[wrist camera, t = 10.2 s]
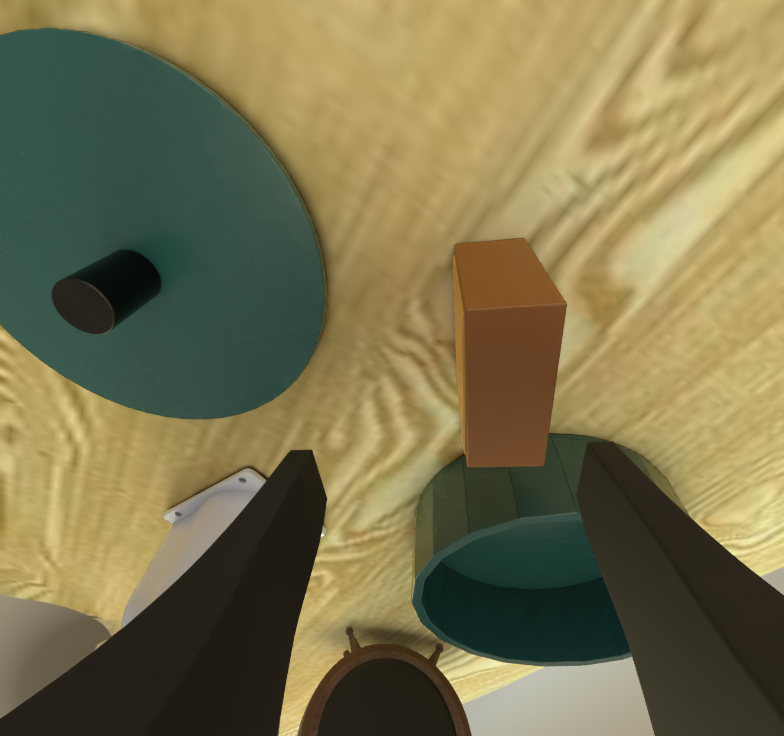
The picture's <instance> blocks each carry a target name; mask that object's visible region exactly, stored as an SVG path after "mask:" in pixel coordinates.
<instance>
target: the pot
mask: <svg viewBox="0 0 784 736" xmlns="http://www.w3.org/2000/svg"><path fill="white" fill-rule="evenodd" d="M587 442H609V441H606V440H601V439H597V438H592V437H586V436H578V435H567V434H549V435H548V442H547V449H546V457H545V464H544V466H519V467H467V464H466V455H464V456H462V457H460V458H459V459H457V460H456V461H454V462H452V463H451V464H449V465H448V466H447V467H445V468H444V469H443V470H442V471H441V472H439V473H438V474H437V475H436V476H435V477H434V478H433V479H432V480H431V482H430V483H429V484H428V485H427V486H426V488H425V490H424V491H423V493H422V494H421V496H420V499H419V501H418V504H417V507H416V513H415V523H414V535H413V564H412V594H411V601H412V604H413V606H414V608H415V610H416V612H417V614H418V617H419V619H420V621H421V622H422V624H423V625H425V626H426V627H427V628H428V629H429V630H430V631H432V632H433V633H434V634H435V635H436V636H437V637H439V638H440V639H441V640H443V641H445V642H447V643H449V644H451V645H453V646H455V647H457V648H460V649H462V650H464V651H466V652H468V653H471V654H474V655H478V656H481V657H485V658H489V659H493V660H497V661H501V662H506V663H515V664H525V665H534V666H580V665H591V664H597V663H603V662H609V661H616V660H623V659H626V658H629V657H632V654H631V650H630V647H629V644H628V641H627V639H626V636H625V633H624V630H623V627H622V625H621V622H620V620H619V617H618V614H617V612H616V609H615V607H614V604H613V602H612V599H611V597H610V594H609V592H608V589H607V587H606V584H605V581H604V579H603V576H602V574H601V571H600V569H599V566H598V564H597V561H596V559H595V556H594V553H593V551H592V548H591V546H590V543H589V540H588V538H587V535H586V532H585V528H584V524H583V521H582V517H581V513H580V509H579V505H578V501H577V497H576V493H577V489H578V484H579V479H580V474H581V470H582V465H583V460H584V455H585V450H586V446H587ZM616 445H617V446H618V447H619V448H620V449H621V450H622V451H623V452H624V453H625V454H626V455H627V456H628V457H629V458H630V459H631V460H632V461H633V462H634V463H635V464H636V465H637V466H638V467H639V468H640V469H641V470H642V471H643V472H644V473H645V474H646V475H647V476H648V477H649V478H650V479H651V480H652V481H653V482H654V483H655V484H656V485H657V486H658V487H659V488H660V489H661V490H662V491H663V492H664V493H665V494H666V495H667V496H668V497H669V498H670V499H671V500H672V501H673V502H674V503H675V504H676V505H678V506H679V507H680V508H681V509H682V510H683V511H684V512H685V513H686V514H687V515H688V516H689V514H688V513H687V511H686V510H685V508H684V506H683V505H682V503H681V501H680V500H679V498H678V497H677V495H676V493H675V492H674V490H673V488H672V487H671V485H670V483H669V482H668V480H667V479H666V478H665V477H664V476H663V475H662V474H661V473H660V471H659V470H658V469H657V468H656V467H655V466H654V465H652V464H651V463H650V462H649V461H648V460H646V459H645V458H643V457H642V456H640V455H639V454H637V453H635V452H633V451H631V450H629V449H627V448H625V447H623V446H620V445H618V444H616ZM689 517H690V516H689Z"/></svg>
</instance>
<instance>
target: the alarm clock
mask: <svg viewBox="0 0 784 736" xmlns="http://www.w3.org/2000/svg"><path fill="white" fill-rule="evenodd" d="M346 634H347V635H349V640H350V646H351V651H352V652H351V653H350V652H349V651H348V650H346V651H345V652H344V654H343V655H344V658H342V659H341V660H340V661H339V662H337V663H336V664H335V665H334V666H333V667H332V668H331V669H330V670H329V672H328V673H327V674H326V675H325V677H324V678H323V679H322V681H321V682H320V684H319V685H318V687H317V688H316V690H315V692H314V694H313V696H312V697H311V699H310V701H309V703H308V705H307V707H306V710H305V712H304V715H303V717H302V720H301V724H300V727H299V731H298V735H297V736H471V732H470V727H469V723H468V720H467V717H466V714H465V711H464V709H463V706H462V704H461V702H460V700H459V698H458V695H457V694H456V692H455V690H454V689H453V687H452V685H451V684H450V682H449V681H448V680H447V678H446V677H445V676H444V675H443V673H442V672H441V671H440V670H439V669H438V668H437V667H436V664H437V661H438V658H439V655H440V652H442V651H443V646H442V645H441V644H437V645H436V651H435V652H434V653H433V654H432V656H431V657H430V658H429V659H426V658H425V657H424V656H422V655H421V654H419V653H417V652H415V651H413V650H411V649H409V648H406V647H403V646H399V645H394V644H375V645H370V646H366V647H363V648H360V646H359V644H358V642H357V641H356V639H355V637H354V635H353V629H352V628H351V627H349V628H347V629H346Z"/></svg>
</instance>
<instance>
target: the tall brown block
mask: <svg viewBox="0 0 784 736" xmlns="http://www.w3.org/2000/svg"><path fill="white" fill-rule="evenodd" d="M454 255H455V256H453V274H454V312H455V350H456V377H457V387H458V397H459V408H460V418H461V428H462V438H463V449H464V454H466V464H467V467H519V466H544V464H545V457H546V449H547V442H548V435H549V428H550V421H551V414H552V407H553V400H554V393H555V385H556V378H557V371H558V364H559V357H560V350H561V343H562V336H563V328H564V321H565V314H566V307H567V303H566V301H565V300H564V298H563V297H562V295H561V294H560V292H559V290H558V289H557V287H556V286H555V284H554V283H553V281H552V280H551V278H550V277H549V275H548V273H547V272H546V270H545V269H544V267H543V266H542V264H541V263H540V261H539V260H538V258H537V256H536V255H535V253H534V252H533V250H532V249H531V247H530V246H529V244H528V243H527V241H526V239H525V238H519V239H507V240H496V241H484V242H472V243H460V244H455V245H454Z"/></svg>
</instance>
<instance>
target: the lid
mask: <svg viewBox="0 0 784 736" xmlns="http://www.w3.org/2000/svg"><path fill="white" fill-rule="evenodd" d="M325 311H326V275H325V268H324V261H323V255H322V251H321V248H320V244H319V240H318V237H317V233H316V230H315V227H314V225H313V222H312V220H311V217H310V215H309V212H308V210H307V208H306V205H305V203H304V201H303V199H302V197H301V195H300V194H299V192H298V190H297V188H296V186H295V184H294V183H293V181H292V179H291V177H290V175H289V174H288V172H287V171H286V170H285V168H284V167H283V165H282V164H281V162H280V161H279V159H278V158H277V157H276V155H275V154H274V152H273V151H272V149H271V148H270V147H269V146H268V144H267V143H266V142H265V141H264V140H263V139H262V138H261V136H260V135H259V134H258V133H257V132H256V131H255V130H254V128H253V127H252V126H251V125H250V124H249V123H248V122H247V120H245V119H244V118H243V117H242V116H241V115H240V114H239V113H238V112H237V111H236V110H235V109H234V108H232V107H231V106H230V105H229V104H228V103H227V102H226V101H225V100H224V99H223V98H222V97H221V96H219V95H218V94H217V93H215V92H214V91H213V90H211V89H210V88H209V87H207V86H206V85H205V84H203V83H202V82H200V81H199V80H198V79H196V78H195V77H194V76H192V75H191V74H189V73H188V72H186V71H184V70H182V69H181V68H179V67H177V66H176V65H174V64H172V63H170V62H169V61H167V60H165V59H163V58H162V57H160V56H158V55H156V54H153V53H151V52H149V51H146V50H144V49H141V48H139V47H137V46H134V45H132V44H129V43H127V42H125V41H121V40H117V39H113V38H110V37H106V36H102V35H98V34H95V33H91V32H85V31H76V30H67V29H57V28H40V29H25V30H17V31H13V32H10V33H6V34H3V35H0V325H1V326H2V327H3V328H4V329H5V330H6V331H7V332H8V333H9V334H11V335H12V336H13V337H14V338H15V339H16V340H17V341H18V342H19V343H20V344H21V345H22V346H24V347H25V348H26V349H27V350H28V351H30V352H31V353H32V354H34V355H35V356H36V357H37V358H39V359H40V360H41V361H42V362H44V363H45V364H46V365H48V366H49V367H51V368H52V369H54V370H55V371H57V372H58V373H60V374H61V375H63V376H64V377H66V378H67V379H69V380H71V381H73V382H74V383H76V384H78V385H80V386H81V387H83V388H85V389H87V390H89V391H91V392H93V393H95V394H97V395H99V396H101V397H103V398H105V399H108V400H110V401H113V402H116V403H118V404H121V405H123V406H126V407H129V408H132V409H136V410H139V411H142V412H146V413H150V414H155V415H160V416H164V417H172V418H180V419H215V418H224V417H229V416H233V415H238V414H242V413H245V412H247V411H250V410H253V409H256V408H258V407H260V406H262V405H264V404H266V403H268V402H270V401H272V400H273V399H274V398H276V397H277V396H279V395H280V394H281V393H283V392H284V391H285V390H286V389H287V388H288V387H289V386H290V385H291V384H292V383H293V382H294V381H295V380H296V379H297V378H298V377H299V376H300V374H301V373H302V372H303V370H304V369H305V367H306V366H307V365H308V363H309V361H310V359H311V357H312V355H313V353H314V351H315V349H316V346H317V344H318V341H319V338H320V335H321V331H322V328H323V325H324V318H325Z"/></svg>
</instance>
